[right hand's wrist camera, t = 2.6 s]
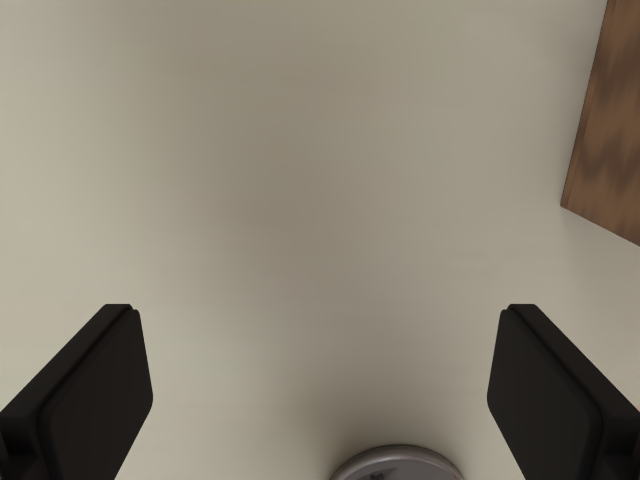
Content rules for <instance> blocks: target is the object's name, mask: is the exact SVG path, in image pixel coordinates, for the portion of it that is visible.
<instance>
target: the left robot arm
mask: <svg viewBox="0 0 640 480" xmlns="http://www.w3.org/2000/svg"><path fill="white" fill-rule="evenodd" d="M330 480H463V478H462V476H461V474H460V473H459V471H458V470H457V469H456V467H455V466H454V465H453V464H452V463H451V462H450V461H448V460H447V459H446V458H444V457H442V456H441V455H439V454H437V453H435V452H433V451H430V450H427V449H424V448H420V447H415V446H406V445H393V446H384V447H379V448H375V449H371V450H368V451H366V452H363V453H361V454H359V455H357V456H355V457H353V458H351V459H350V460H348V461H347V462H346V463H344V464H343V465H342V466H341V467H340V468H339V469H338V470H337V471H336V472H335V473H334V475H333V476H332V478H331V479H330Z"/></svg>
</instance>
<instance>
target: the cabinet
mask: <svg viewBox="0 0 640 480" xmlns="http://www.w3.org/2000/svg"><path fill="white" fill-rule="evenodd" d="M561 206H562V207H563V208H565V209H568V210H570V211H571V212H573V213H575V214H577V215H579V216H581V217H583V218H585V219H587V220H589V221H591V222H593V223H595V224H597V225H599V226H601V227H603V228H605V229H607V230H609V231H611V232H613V233H615V234H616V235H618V236H620V237H622V238H624V239H626V240H628V241H630V242H632V243H634V244H636V245H638V246H640V0H608V4H607V8H606V12H605V17H604V21H603V25H602V29H601V34H600V38H599V42H598V47H597V51H596V55H595V59H594V64H593V68H592V72H591V77H590V81H589V85H588V89H587V94H586V98H585V102H584V107H583V111H582V115H581V119H580V124H579V128H578V132H577V137H576V141H575V145H574V149H573V154H572V158H571V162H570V167H569V171H568V175H567V179H566V184H565V188H564V192H563V197H562V201H561Z"/></svg>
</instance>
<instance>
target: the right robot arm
mask: <svg viewBox="0 0 640 480" xmlns="http://www.w3.org/2000/svg"><path fill="white" fill-rule="evenodd" d="M152 402H153V392H152V386H151V380H150V374H149V368H148V362H147V356H146V349H145V343H144V337H143V331H142V325H141V319H140V314H139V312H138V310H133V308H132V306H131V305H130V304H105V305H104V306H103V307H102V308H101V309H100V310H99V311H98V312H97V313H96V314H95V315H94V316H93V317H92V318H91V319H90V320H89V321H88V322H87V323H86V324H85V325H84V326H83V327H82V328H81V329H80V331H79V332H78V333H77V334H76V335H75V336H74V337H73V338H72V339H71V340H70V341H69V342H68V343H67V344H66V345H65V346H64V347H63V348H62V349H61V350H60V351H59V352H58V353H57V354H56V355H55V356H54V357H53V358H52V359H51V360H50V361H49V362H48V363H47V365H46V366H45V367H44V368H43V369H42V370H41V371H40V372H39V373H38V374H37V375H36V376H35V377H34V378H33V379H32V380H31V381H30V382H29V383H28V384H27V385H26V386H25V387H24V388H23V389H22V390H21V391H20V392H19V393H18V394H17V395H16V396H15V398H14V399H13V400H12V401H11V402H10V403H9V404H8V405H7V406H6V407H5V408H4V409H3V410H2V411H1V412H0V480H114V479H115V477H116V475H117V473H118V471H119V470H120V468H121V466H122V464H123V462H124V460H125V458H126V456H127V454H128V452H129V450H130V448H131V446H132V444H133V443H134V441H135V439H136V437H137V435H138V433H139V431H140V429H141V427H142V425H143V423H144V421H145V419H146V417H147V415H148V414H149V412H150V409H151V407H152ZM487 402H488V407H489V409H490V412H491V414H492V415H493V417H494V419H495V421H496V423H497V425H498V427H499V429H500V431H501V433H502V435H503V437H504V439H505V441H506V443H507V444H508V446H509V448H510V450H511V452H512V454H513V456H514V458H515V460H516V462H517V464H518V466H519V468H520V470H521V471H522V473H523V475H524V477H525V479H526V480H640V412H639V411H638V410H637V409H636V408H635V407H634V406H633V405H632V404H631V403H630V402H629V401H628V400H627V399H626V398H625V396H624V395H623V394H622V393H621V392H620V391H619V390H618V389H617V388H616V387H615V386H614V385H613V384H612V383H611V382H610V381H609V380H608V379H607V378H606V377H605V376H604V375H603V374H602V373H601V372H600V371H599V370H598V369H597V368H596V367H595V366H594V365H593V363H592V362H591V361H590V360H589V359H588V358H587V357H586V356H585V355H584V354H583V353H582V352H581V351H580V350H579V349H578V348H577V347H576V346H575V345H574V344H573V343H572V342H571V341H570V340H569V339H568V338H567V337H566V336H565V335H564V334H563V333H562V332H561V331H560V329H559V328H558V327H557V326H556V325H555V324H554V323H553V322H552V321H551V320H550V319H549V318H548V317H547V316H546V315H545V314H544V313H543V312H542V311H541V310H540V309H539V308H538V307H537V306H536V305H535V304H510V305H509V306H508V308H507V310H502V312H501V314H500V319H499V325H498V331H497V337H496V343H495V349H494V356H493V362H492V368H491V374H490V380H489V386H488V392H487Z"/></svg>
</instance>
